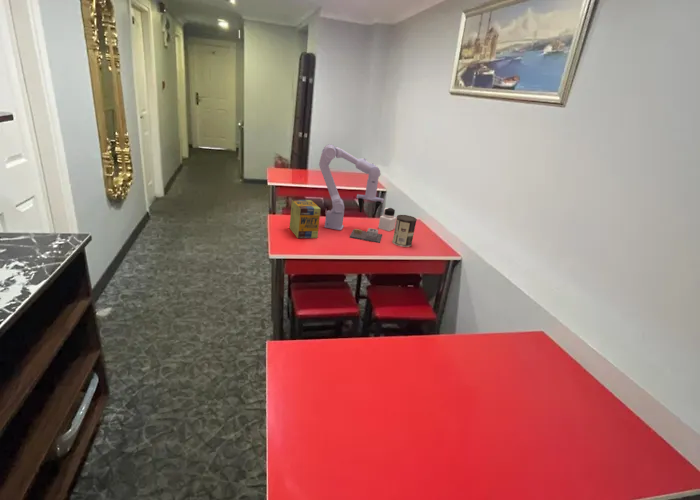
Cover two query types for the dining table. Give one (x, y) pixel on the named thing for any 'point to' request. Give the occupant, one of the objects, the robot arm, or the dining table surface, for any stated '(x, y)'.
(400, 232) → the coffee can
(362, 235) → the shaft block
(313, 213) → the protein box
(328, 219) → the robot arm
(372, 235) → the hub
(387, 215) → the medicine bottle
